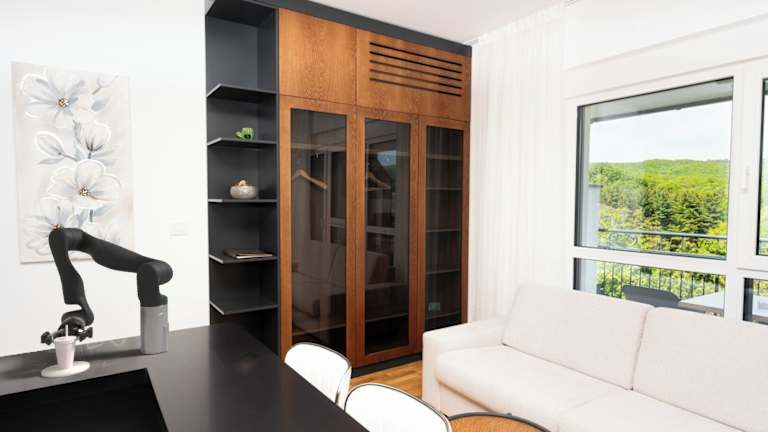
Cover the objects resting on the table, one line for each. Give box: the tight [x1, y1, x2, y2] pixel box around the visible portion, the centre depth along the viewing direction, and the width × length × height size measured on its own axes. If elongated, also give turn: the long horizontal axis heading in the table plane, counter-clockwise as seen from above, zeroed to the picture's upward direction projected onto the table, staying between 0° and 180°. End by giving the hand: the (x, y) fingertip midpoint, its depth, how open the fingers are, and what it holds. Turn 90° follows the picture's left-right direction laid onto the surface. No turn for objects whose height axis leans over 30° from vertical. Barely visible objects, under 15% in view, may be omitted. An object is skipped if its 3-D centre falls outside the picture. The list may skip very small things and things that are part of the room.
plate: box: [40, 360, 91, 379], centre depth 149 cm, size 13×13×1 cm
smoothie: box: [52, 325, 78, 370], centre depth 149 cm, size 6×6×14 cm
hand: (64, 340), depth 147 cm, fingers open, 8 cm apart
